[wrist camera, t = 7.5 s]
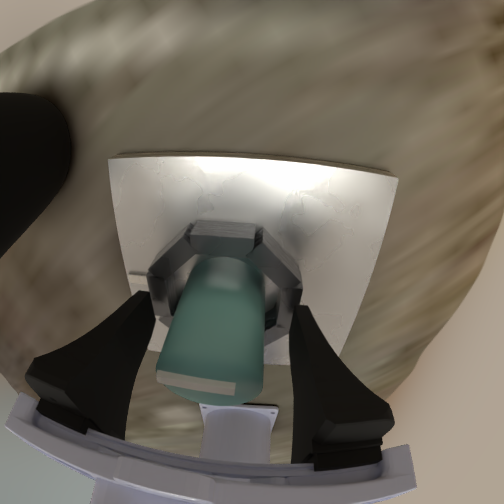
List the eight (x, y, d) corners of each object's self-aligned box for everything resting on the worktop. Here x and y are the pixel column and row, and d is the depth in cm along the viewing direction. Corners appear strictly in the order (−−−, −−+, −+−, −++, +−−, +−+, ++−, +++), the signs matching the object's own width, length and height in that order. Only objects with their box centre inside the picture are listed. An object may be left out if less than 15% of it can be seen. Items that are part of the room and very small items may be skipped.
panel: (332, 353, 20) (337, 381, 17) (153, 338, 20) (142, 365, 18) (389, 171, 12) (412, 188, 10) (119, 153, 13) (91, 167, 10)
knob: (271, 262, 14) (271, 365, 9) (259, 322, 16) (255, 415, 11) (186, 252, 14) (145, 346, 9) (188, 312, 16) (162, 401, 11)
